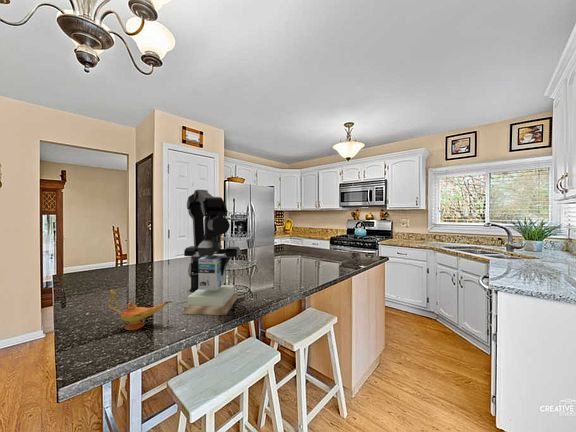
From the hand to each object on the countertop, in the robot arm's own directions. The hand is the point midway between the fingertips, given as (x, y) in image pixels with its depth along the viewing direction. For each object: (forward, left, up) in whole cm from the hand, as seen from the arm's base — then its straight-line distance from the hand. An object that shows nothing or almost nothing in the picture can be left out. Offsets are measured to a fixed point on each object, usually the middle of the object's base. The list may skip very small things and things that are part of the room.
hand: (212, 275), depth 93 cm
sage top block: (0, 0, -9) cm, 9 cm away
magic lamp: (-16, -17, -11) cm, 26 cm away
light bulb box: (0, 0, -4) cm, 4 cm away
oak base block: (0, 0, -12) cm, 12 cm away
